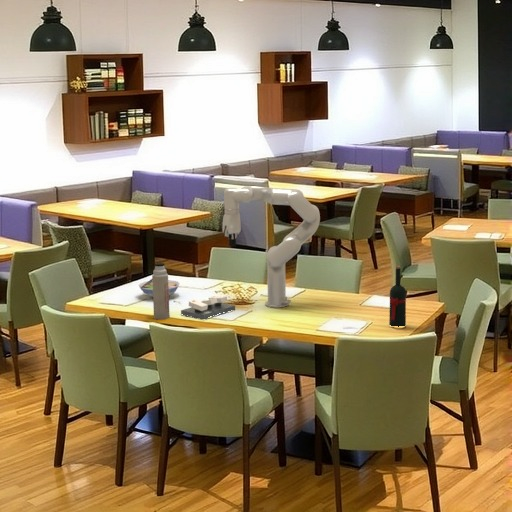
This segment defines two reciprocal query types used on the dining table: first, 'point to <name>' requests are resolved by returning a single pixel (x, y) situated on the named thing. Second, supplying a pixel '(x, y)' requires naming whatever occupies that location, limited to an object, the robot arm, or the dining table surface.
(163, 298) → the thermos bottle
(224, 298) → the rocker
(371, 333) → the dining table surface
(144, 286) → the ramen bowl
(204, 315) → the console
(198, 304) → the rocker
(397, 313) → the wine bottle
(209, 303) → the rocker
